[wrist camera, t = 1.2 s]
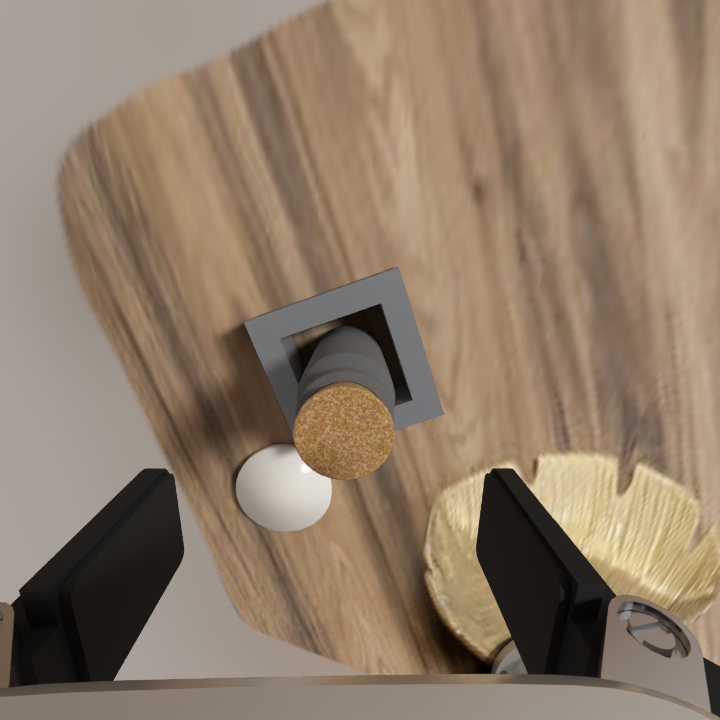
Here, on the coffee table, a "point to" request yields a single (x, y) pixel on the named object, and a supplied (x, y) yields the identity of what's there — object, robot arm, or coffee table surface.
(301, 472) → the white round part
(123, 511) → the robot arm
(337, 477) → the bottle
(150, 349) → the coffee table surface
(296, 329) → the square frame
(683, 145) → the coffee table surface
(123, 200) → the coffee table surface
